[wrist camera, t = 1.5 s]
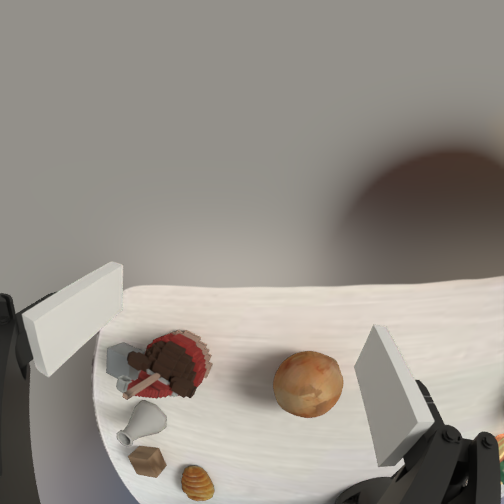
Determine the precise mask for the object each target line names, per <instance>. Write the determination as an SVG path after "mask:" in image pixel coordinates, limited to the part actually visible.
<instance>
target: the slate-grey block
mask: <svg viewBox="0 0 504 504" xmlns="http://www.w3.org/2000/svg"><path fill="white" fill-rule="evenodd" d="M132 351H135V352H136V353H138V352H140V353H142V354H144V355H145V351H142V350H140V349H137V348H135V347H133V346H130V345H128V344H126V343H121V344H118V345H115V346H112V347H109V348H108V349H107V369H106V373H108V374H110V375H112V376H113V377H115V378H117V379H118V377H120V376H122V375H124V376H128V377H129V378H131V379H132V380H136V379H138V376H139V374H138V370H136V369H135V368H133V367H131V366H130V365H128V361H127V356H128V353H129V352H132Z"/></svg>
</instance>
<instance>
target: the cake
mask: <svg viewBox="0 0 504 504" xmlns="http://www.w3.org/2000/svg"><path fill="white" fill-rule="evenodd" d="M200 338H201V337H199V336H197V335H195V334H193V333H191V332H189V331H187V330H185V332H184V333H183V332H181V331H179V330H177V331H176V333H175V332H172V333H169V334H167V335H165V336H161V337H159V338H157V339H154V340H153V342H152V343H151V344H149V345H147V348H146V352H145V355H144V354H142V353H140V352H138V353H136V352H135V351H132V352H129V353H128V356H127V361H128V365H130V366H131V367H133V368H135V369H136V370H138V374H139V376H138V379H136V380H135V381H134V380H132V379H131V378H129V377H128V376H124V375H122V376H120V377H118V381H117V385H116V387H117V389H118V390H119V391H120V392H122V393H123V398H125V399H126V400H128V399H129V398H131V397H132V396H134V395H135V396H137V395H138V396H139V397H140V396H142V397H144V396H145V397H146V398H147V397H149V398H151V397H152V398H156V399H157V398H158V397H160V398H162V397H167V396H168V395H169V396H170V397H172V396H173V397H175V396H179V395H180V396H182V397H183V398H184V397H185V396H187V397H189V398H191V397H192V396H193V395H194V393H195V391H196V388H197V387H198V386H199V385H200V384H201V383H202V380H203V378H207V376H208V374H209V371H210V369H211V366H212V363H210V362H209V360H210V358H211V355H210V354H208V352H209V349H207V348H206V346H207V344H205V343H203V342H201V341H200Z"/></svg>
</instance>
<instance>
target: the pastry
mask: <svg viewBox="0 0 504 504" xmlns="http://www.w3.org/2000/svg"><path fill="white" fill-rule="evenodd" d="M182 475H183V476H182V480H181V483H182V490H183V492H185V493H186V494H187V496H188V498H190V499H192V500H195V501H205V500H208V499H210V498H212V497H213V493H214V485H213V483H212V481H211V479H210V477H209V476H208V474H207V472H206V471H205V470H204V469H203V468H201V467H198V466H189V467H187V468H185V469H184V472H183V474H182Z"/></svg>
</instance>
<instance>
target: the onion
mask: <svg viewBox="0 0 504 504" xmlns="http://www.w3.org/2000/svg"><path fill="white" fill-rule="evenodd" d="M342 388H343V377H342V375H341V372H340V369H339V365H338V364H337V362H336V360H335V359H333V358H331V357H329V356H326V355H323V354H321V353H318V352H313V351H304V352H299V353H296V354H294V355H292V356H290V357H289V358H287V359H286V360H285V361H284V362H283V363H282V364H281V365H280V366H279V368H278V370H277V372H276V374H275V377H274V381H273V389H274V394H275V396H276V400H277V402H278V404H279V406H280V407H281V408H282V409H284V410H285V411H287V412H289V413H291V414H293V415H296V416H300V417H304V418H312V417H317V416H321V415H323V414H325V413H326V412H328V411H329V410H330V409H331V408H332V407H333V406H334V405H335V404H336V402H337V401H338V399H339V397H340V395H341V392H342Z"/></svg>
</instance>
